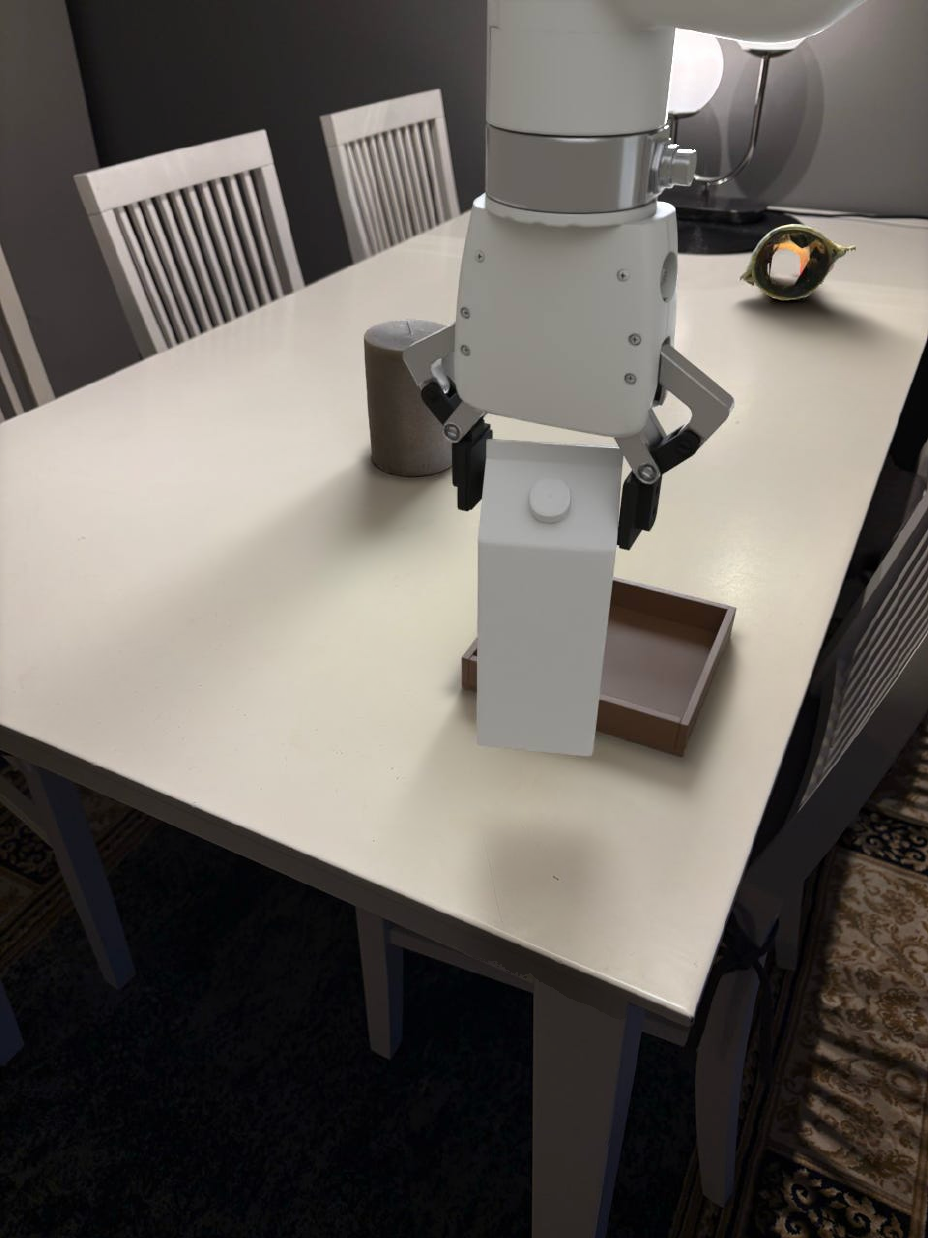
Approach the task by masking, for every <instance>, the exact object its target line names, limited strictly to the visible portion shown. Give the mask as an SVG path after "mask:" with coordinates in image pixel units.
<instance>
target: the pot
mask: <svg viewBox="0 0 928 1238" xmlns="http://www.w3.org/2000/svg"><path fill="white" fill-rule="evenodd" d="M857 248H858V246H857V245H849V246H844V245H840V244H838V243H837V242H835V241H832V240H831V239H830V238H828V237H826V236H825V235H824V234H823V233H822V232H821V231H819V230H818V229H816V228H814V227H811V226H807V225H804V224H797V223H791V224H786V225H781V226H779V227H776V228H774V229H772V230H771V231H770V232H768V233H767V234H766V235H765V236H763V237H762V238H761V239H760V240H759V241H758V243H757V245H756V246H755V248H754V250H753V252H752V254H751V257H750V260H749V263H748V265H747V266H746V269H745V271H744V272H743V273H742V275H741V276H740V277H739V278H738V281H742V280H743V282H745V283H746V284H747V285H750V286H751V287H754V286H755V287H757V288H758V289H759V290H760V292H761V293H763V294H764V295H767V296H769V298H770V297H771V298H773V299H776V300H780V301H790V300H800V299H802V298H806V297H808V296H810V295H811V293H814V292H815V291H816V290H818V288H819V286H820V285H823V283H824V282H825V280H826V278H827V277H828V276H829V274H830V273H831V272H832V271H833V269H834V266H835V264H836V263H837V262H838V260H839V259H841V258H843V257H844V256H846V253H850V252H852V251H855V252H856V251H857ZM781 250H788V251H791V252H794V253H796V254H797V256H798V258H799V273H798V278H797V279H796V281H795V283H794V284H793V285H789V286H785V287H782V286H781V285H779V284H778V283H777V282H776V281H775V280H773V279H772V278H771V270H772V263H773V256H774V255H775V253H777V252H778V251H781Z"/></svg>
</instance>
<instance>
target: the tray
mask: <svg viewBox="0 0 928 1238" xmlns="http://www.w3.org/2000/svg"><path fill="white" fill-rule="evenodd" d="M737 609H738V608H737V607H736V606H732V605H728V604H724V603H720V602H716V601H714V600H713V601H712V600H708V599H705V598H701V597H696V596H693V595H689V594H685V593H681V592H678V591H673V590H669V589H666V588H661V587H657V586H653V585H649V584H646V583H641V582H638V581H634V580H630V579H625V578H622V577H618V576H615V575H613V582H612V591H611V599H610V608H609V617H608V626H607V635H606V643H605V652H604V661H603V670H602V678H601V687H600V696H599V705H598V713H597V722H596V731H598V732H601V733H604V734H607V735H610V736H613V737H617V738H619V739H624V740H626V741H630V742H633V743H636V744H639V745H641V746H645V747H648V748H652V749H655V750H657V751H661V752H664V753H667V754H671V755H674V756H677V757H680V758H683V757H684V754H685V753H686V749H687V747H688V744H689V741H690V739H691V737H692V734H693V731H694V729H695V726H696V724H697V721H698V719H699V717H700V714H701V712H702V709H703V706H704V704H705V701H706V699H707V696H708V694H709V692H710V689H711V687H712V684H713V681H714V679H715V676H716V674H717V671H718V669H719V667H720V665H721V661H722V659H723V656H724V654H725V651H726V648H727V646H728V644H729V642H730V639H731V636H732V631H733V627H734V622H735V618H736V613H737ZM461 688H462V689H464V690H468V691H471V692H475V693H477V637H476V638H475V639H474V641H473V642H472V643H471V644H470V646H469V647H468V648H467V650H466V651H465V652H464V653H463V655H462V656H461Z"/></svg>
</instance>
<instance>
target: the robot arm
mask: <svg viewBox="0 0 928 1238" xmlns="http://www.w3.org/2000/svg"><path fill="white" fill-rule="evenodd" d="M486 1H487V2H486V3H487V5H486V6H487V7H486V85H485V86H486V87H485V88H486V90H485V93H486V95H485V99H486V100H485V122H486V123H485V172H484V175H485V179H484V181H485V182H484V183H485V184H484V185H485V186H484V192H483V193H482V194H481V195H480V196H478V197H476V198H475V199H474V200H473V202H472V206H471V210H470V214H469V219H468V224H467V228H466V229H467V230H466V234H465V240H464V245H463V251H462V257H461V263H460V264H461V265H460V271H459V280H458V288H457V297H456V298H457V299H456V311H455V312H456V313H455V321H454V322H452V323H450V324H448V325H447V326H446V327H444V328H442V329H440V330H438V331H436V332H434V333H432V334H430V335H428V336H426V337H424V338H422V339H420V340H418V341H416V342H415V343H414V344H412V345H411V346H409V347H408V348H406V349H405V350H404V351H403V360H404V362H405V364H406V366H407V368H408V369H409V371H410V373H411V375H412V377H413V379H414V381H415V383H416V384H417V386H418V385H419V387H420V389H421V398H422V400H423V402H424V403H425V405H426V406H427V407H428V408H429V409H430V411H431V412H432V413H433V414H434V416H435V417H436V418H437V419H438V420H439V422H440V423H441V424H442V425H443V426H442V434H443V436H444V437H445V439H446V440H448V441H449V442H452V466H451V482H452V486H453V487H454V488H456V507H457V510H459V511H464V512H469V511H472V510H473V509H474V508H475V507H476V506H477V505H478V504H479V503H480V502H481V501H482V494H483V484H484V475H485V466H486V441H487V439H494V431H493V429H492V428H491V427H492V426H491V425H492V424H491V423H487V422H486V421H485V417H486V416H487V415H488V414H490V415H493V416H497V417H502V418H508V419H512V420H518V421H522V422H527V423H532V424H538V425H542V426H548V427H552V428H558V429H562V430H568V431H572V432H578V433H583V434H588V435H594V436H600V437H605V438H606V437H607V438H613V439H614V441H615V443H616V446H618V447H619V448H620V450H621V451H622V453H623V455H624V456H623V458H625V460H626V462H627V464H628V466H629V467H630V469H631V470H630V472H629V473H628V474H627V476H626V478H625V479H624V481H623V484H622V486H621V495H620V505H619V519H618V533H617V546H618V548H619V549H621V550H624V551H628V552H629V551H630V550H631V549H632V548H633V546H634V544H635V542H636V541H637V540H638V538H639V537H640V534H641V533H642V532H643V531H645V532H651V531H652V529H653V527H654V525H655V522H656V520H657V516H658V510H659V503H660V495H661V488H662V482H663V475H665V474H666V473H668V472H669V471H671V470H673V469H674V468H676V467H678V466H679V465H681V464H683V463H684V462H685V461H687V460H689V459H690V458H691V457H694V455H696V453H697V451H698V450H699V449H700V448H702V446H703V445H704V444H705V443H706V442H708V440H709V439H710V438H711V437H712V436H713V435H714V434H715V433H716V432H717V431H718V429H719V428H720V427H721V426H722V425H723V424H724V423H725V422H726V421H727V420H728V418H729V416H730V415H731V413H732V411H733V410H734V407H735V405H736V402H735V401H736V400H735V398H734V397H733V395H731V394H730V393H729V392H728V391H726V390H725V389H724V388H723V387H722V386H721V385H719V384H718V383H717V382H716V381H714V380H713V379H712V378H711V377H709V376H708V375H707V374H706V373H704V371H702V370H701V369H700V368H699V367H697V366H696V365H695V364H694V363H692V362H691V361H690V360H689V359H688V358H686V357H685V356H684V355H683V354H682V353H680V352H679V351H678V350H677V349H675V341H676V339H675V338H676V324H677V311H678V309H677V307H678V289H679V287H678V285H679V284H678V283H679V280H678V279H679V277H678V276H679V252H678V251H679V245H678V243H679V242H678V222H677V213H676V212H677V211H676V207H675V206H674V205H673V204H671V203H668V202H664V201H658V198H659V196H660V195H661V194H662V193H663V192H664V191H665V190H666V189H672V188H673V187H674V186H680V187H681V186H682V187H691V185H692V183H693V181H694V178H695V173H696V169H697V162H698V155H697V150H695V149H694V150H692V149H681V147H680V145H677V144H673V138H670V136H671V135H670V134H671V126H670V125H667V120H668V111H669V103H670V94H671V85H672V78H673V77H672V76H673V69H674V60H675V51H676V43H677V35H678V30H682V31H688V32H693V33H696V34H697V33H698V34H703V35H707V36H712V37H717V38H722V39H726V40H731V41H737V42H742V43H751V44H759V45H760V44H761V45H777V44H786V43H792V42H797V41H800V40H803V39H808V38H810V37H813V36H814V35H818V34H819V33H821V32H824V31H825V30H828V29H829V28H831V27H832V26H834V25H835V24H837V23H839V22H840V21H841V20H842V19H845V17H847V16H848V15H849V14H850V13H852V12H853V11H854V10H855V9H856V8H858V7H860V5H863V4H864V3H866V2H868V1H869V0H486ZM453 352H454V365H455V382H456V384H455V383H454V382H453V381H452V379H451V378H450V377H448V376H446V375H445V373H444V368H443V366H442V363H441V358H443V357H445V356H447V355H449V354H451V353H453ZM669 393H670V394H672V395H673V396H674V397H675V398H676V399H678V400H679V401H680V402H682V403H683V405H685V406H686V407H687V408H688V409H689V410H690V411H691V417H690V418H689V419H688V420H687V421H686V422H685V423H684V424H682V425H681V426H679V427H678V428H676V429H674V430H673V431H671V432H670V433H668V434H667V432H666V431H665V429H664V427H663V425H662V424H661V422H660V419H658V417H657V414H656V413H655V411H654V410H653V408H656V407H658V406H660V407H661V406H663V405H664V403H665V401H666V398H667V396H668V394H669Z"/></svg>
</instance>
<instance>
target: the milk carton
mask: <svg viewBox="0 0 928 1238" xmlns="http://www.w3.org/2000/svg"><path fill="white" fill-rule="evenodd" d="M623 464H624V455H623V453H622V451H621V450H620V448H619V446H618V445H599V444H583V443H565V442H552V441H551V442H550V441H549V442H548V441H534V440H533V441H532V440H516V439H513V440H512V439H499V438H493V439H487V441H486V466H485V475H484V484H483V494H482V499H481V505H480V513H479V514H480V515H479V523H478V531H477V607H476V609H477V610H476V611H477V614H476V615H477V618H476V619H477V620H476V621H477V623H476V624H477V625H476V628H477V629H476V632H477V634H476V638H477V692H476V744H477V745H478V746H481V747H486V748H487V747H488V748H499V749H508V750H516V751H517V750H518V751H528V752H537V753H538V752H540V753H548V754H559V755H560V754H561V755H571V756H579V757H592V756H593V755H594V749H595V740H596V731H597V730H596V722H597V713H598V705H599V696H600V687H601V678H602V670H603V661H604V652H605V643H606V635H607V626H608V617H609V608H610V599H611V591H612V582H613V576H614V571H615V564H616V555H617V547H618V545H617V533H618V522H619V513H620V505H621V493H622V477H623Z"/></svg>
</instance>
